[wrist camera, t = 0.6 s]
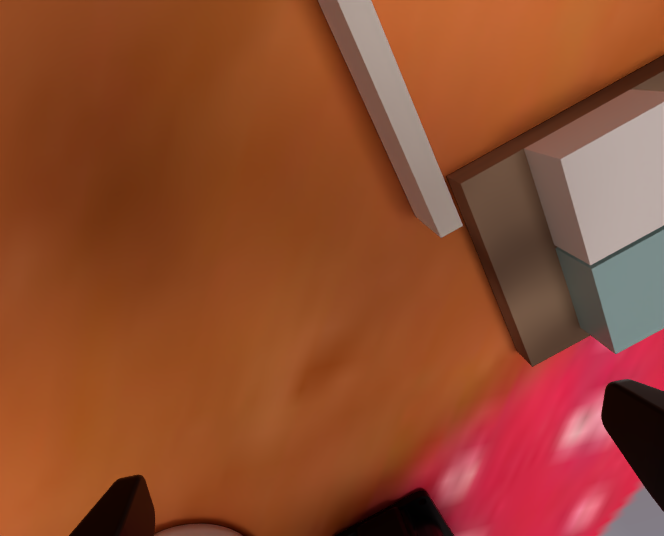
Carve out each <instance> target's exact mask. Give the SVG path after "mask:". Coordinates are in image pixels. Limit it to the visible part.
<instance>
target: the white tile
mask: <svg viewBox="0 0 664 536" xmlns="http://www.w3.org/2000/svg"><path fill="white" fill-rule="evenodd" d="M524 151H525V154H526V157H527V160H528V164H529V167H530V170H531V173H532V176H533V179H534V182H535V186H536V189H537V192H538V195H539V198H540V201H541V205H542V208H543V211H544V214H545V217H546V220H547V224H548V227H549V230H550V233H551V236H552V239H553V243H554V245H555V246H557V247H559V248H561V249H562V250H564V251H566V252H568V253H569V254H571V255H573V256H575V257H576V258H578V259H580V260H582V261H584V262H585V263H587V264H589V265H592V264H594V263H596V262H597V261H599V260H601V259H603V258H605V257H607V256H608V255H610V254H612V253H614V252H616V251H618V250H619V249H621V248H623V247H625V246H627V245H629V244H630V243H632V242H634V241H636V240H638V239H640V238H641V237H643V236H645V235H647V234H649V233H651V232H652V231H654V230H656V229H658V228H660V227H662V226H663V225H664V92H663V91H647V90H631V89H630V90H628V91H627V92H625V93H623V94H621V95H619V96H618V97H616V98H614V99H612V100H610V101H609V102H607V103H605V104H603V105H601V106H600V107H598V108H596V109H594V110H592V111H591V112H589V113H587V114H585V115H583V116H582V117H580V118H578V119H576V120H575V121H573V122H571V123H569V124H567V125H566V126H564V127H562V128H560V129H558V130H557V131H555V132H553V133H551V134H549V135H548V136H546V137H544V138H542V139H540V140H539V141H537V142H535V143H533V144H531V145H530V146H528V147H526V148H524Z"/></svg>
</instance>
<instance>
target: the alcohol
mask: <svg viewBox="0 0 664 536" xmlns="http://www.w3.org/2000/svg"><path fill="white" fill-rule="evenodd" d="M154 536H243V535H241V534H240V533H238V532H236V531H234V530H232V529H230V528H226V527H223V526H219V525H213V524H204V523H202V524H186V525H180V526H175V527H172V528H169V529H165V530H162V531H160V532H158V533H156V534H154Z"/></svg>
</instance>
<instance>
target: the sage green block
mask: <svg viewBox="0 0 664 536" xmlns="http://www.w3.org/2000/svg"><path fill="white" fill-rule="evenodd" d="M555 249H556V252H557V255H558V258H559V262H560V265H561V268H562V271H563V274H564V277H565V280H566V284H567V287H568V290H569V293H570V296H571V299H572V303H573V306H574V309H575V312H576V315H577V318H578V322H579V325H580V328H582V329H583V330H584V331H586V332H587V333H588V334H590V335H591V336H592V337H594V338H595V339H596V340H598V341H599V342H600V343H602V344H603V345H604V346H605V347H607V348H608V349H609V350H611V351H612V352H613V353H615V354H617V353H619V352H621V351H622V350H624V349H626V348H628V347H630V346H632V345H634V344H635V343H637V342H639V341H641V340H643V339H645V338H647V337H648V336H650V335H652V334H654V333H656V332H658V331H660V330H661V329H663V328H664V225H663V226H662V227H660V228H658V229H656V230H654V231H652V232H651V233H649V234H647V235H645V236H643V237H641V238H640V239H638V240H636V241H634V242H632V243H630V244H629V245H627V246H625V247H623V248H621V249H619V250H618V251H616V252H614V253H612V254H610V255H608V256H607V257H605V258H603V259H601V260H599V261H597V262H596V263H594V264H592V265H589V264H587V263H585V262H584V261H582V260H580V259H578V258H576V257H575V256H573V255H571V254H569V253H568V252H566V251H564V250H562V249H561V248H559V247H557V248H555Z"/></svg>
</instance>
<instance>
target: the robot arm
mask: <svg viewBox="0 0 664 536" xmlns="http://www.w3.org/2000/svg"><path fill="white" fill-rule="evenodd" d="M601 418H602V422H603V425H604V427H605V429H606V430H607V432H608V433H609V435H610V436H611V438H612V439H613V441H614V442H615V444H616V445H617V447H618V448H619V450H620V451H621V453H622V454H623V455H624V457H625V458H626V460H627V461H628V463H629V464H630V466H631V467H632V469H633V470H634V472H635V473H636V475H637V476H638V478H639V479H640V481H641V482H642V483H643V485H644V486H645V488H646V489H647V491H648V492H649V493H650V495H651V496H652V497H653V499H654V500H655V501H656V503H657V504H658V505H659V506H660V508H661V509H662V510H663V511H664V391H661V390H659V389H656V388H653V387H650V386H647V385H644V384H642V383H639V382H636V381H633V380H629V379H625V380H619V381H614V382H611V383H609V384H608V385H607V386H606V389H605V395H604V401H603V407H602V413H601ZM154 530H155V511H154V506H153V503H152V500H151V497H150V494H149V490H148V487H147V484H146V481H145V479H144V477H143V476H142V475H134V476H129V477H124V478H120V479H118V480H117V481H115V482H114V483H113V485H112V486H111V487H110V488H109V489H108V490H107V492H106V493H105V494H104V495H103V496H102V498H101V499H100V500H99V501H98V502H97V503H96V505H95V506H94V507H93V508H92V509H91V510H90V512H89V513H88V514H87V515H86V516H85V517H84V519H83V520H82V521H81V522H80V523H79V524H78V526H77V527H76V528H75V529H74V530H73V531H72V533H71V534H70V535H69V536H154ZM336 536H454V535H453V533H452V531H451V530H450V528H449V527H448V525H447V523H446V522H445V520H444V519H443V517H442V515H441V514H440V512H439V511H438V509H437V507H436V506H435V504H434V502H433V501H432V499H431V498H430V496H429V494H428V493H427V492H426V491H424V490H421V491H418V492H415V493H414V494H412V495H410V496H408V497H406V498H404V499H402V500H401V501H399V502H397V503H395V504H393V505H391V506H389V507H388V508H386V509H384V510H382V511H380V512H378V513H376V514H374V515H373V516H371V517H369V518H367V519H365V520H363V521H361V522H360V523H358V524H356V525H354V526H352V527H350V528H348V529H347V530H345V531H343V532H341V533H339V534H337V535H336Z"/></svg>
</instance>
